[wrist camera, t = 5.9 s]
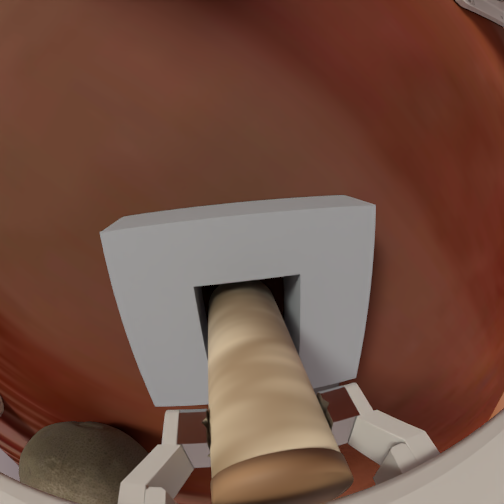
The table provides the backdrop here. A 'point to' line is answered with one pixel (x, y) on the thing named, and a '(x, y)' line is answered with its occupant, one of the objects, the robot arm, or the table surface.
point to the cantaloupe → (80, 461)
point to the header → (236, 270)
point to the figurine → (1, 406)
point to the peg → (264, 408)
